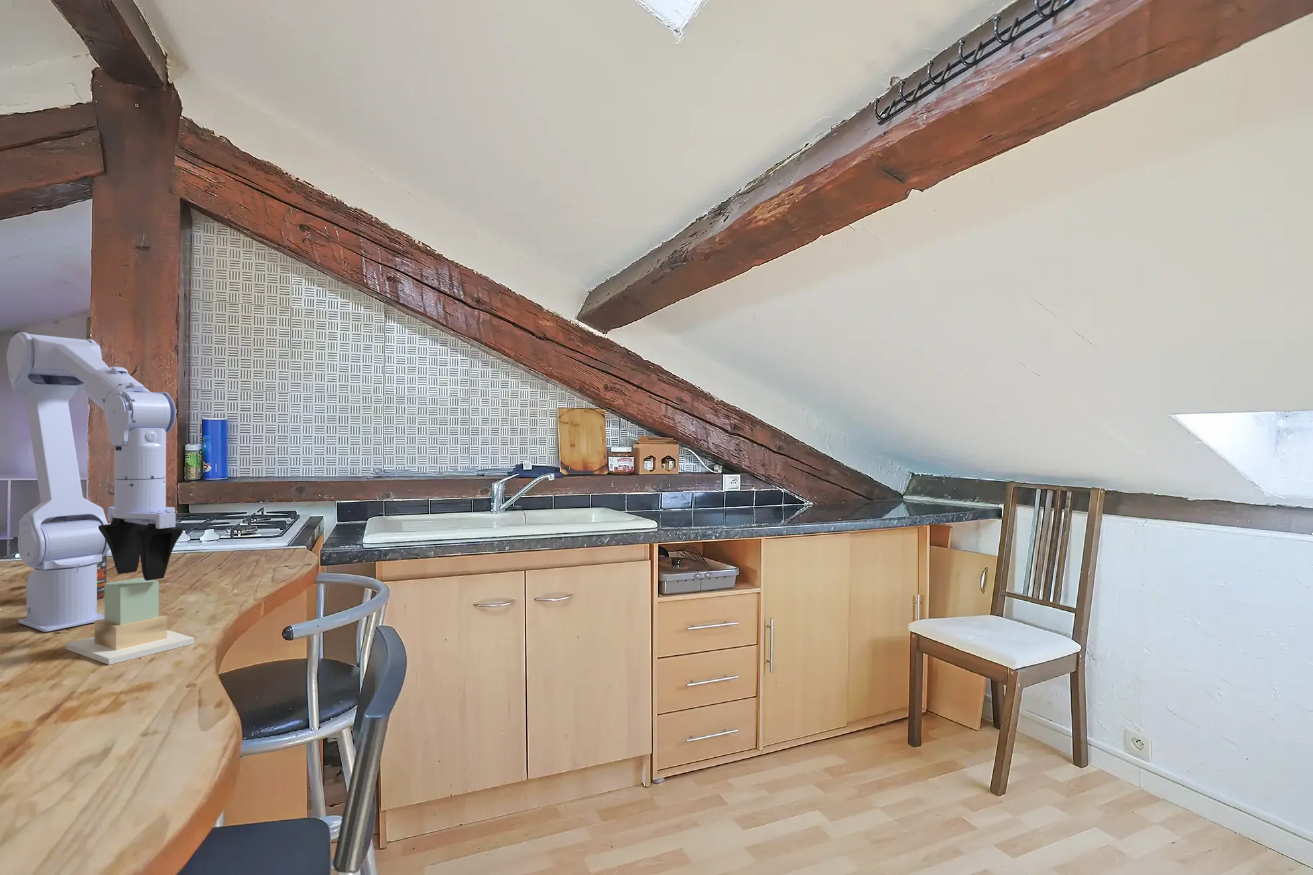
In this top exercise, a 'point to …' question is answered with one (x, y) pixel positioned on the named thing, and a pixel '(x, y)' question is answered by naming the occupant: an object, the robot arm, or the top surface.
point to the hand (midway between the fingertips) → (140, 575)
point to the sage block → (131, 600)
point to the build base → (130, 651)
